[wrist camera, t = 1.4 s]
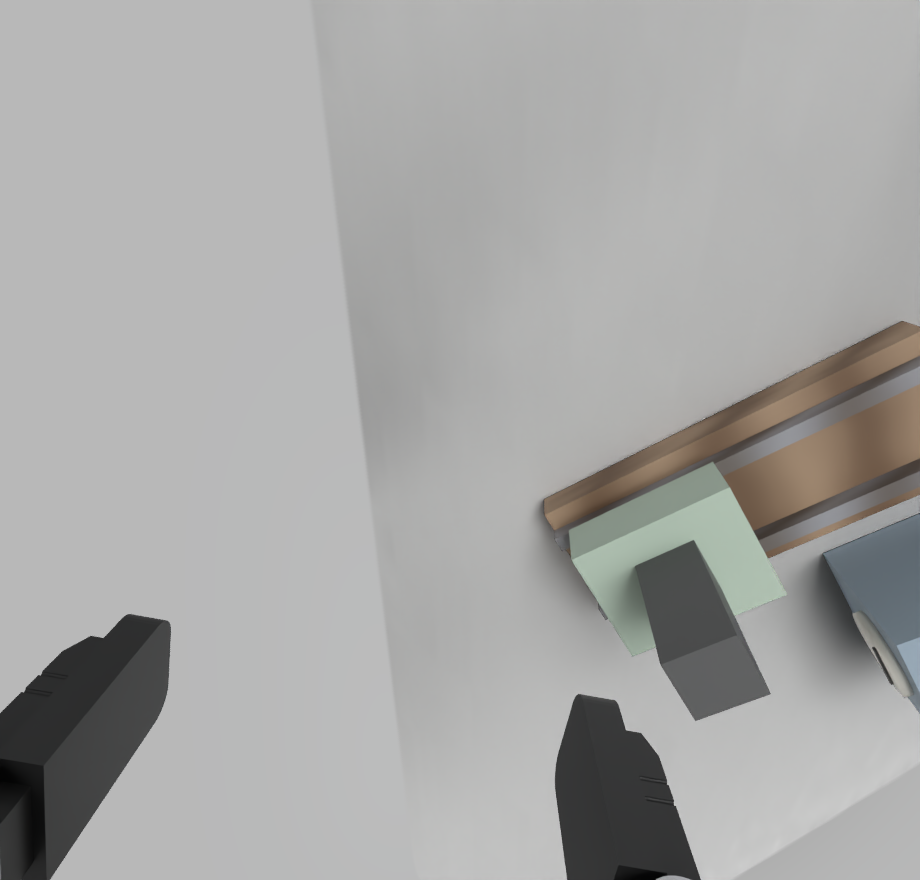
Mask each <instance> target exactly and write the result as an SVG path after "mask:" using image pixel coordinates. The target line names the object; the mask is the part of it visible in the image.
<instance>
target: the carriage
mask: <svg viewBox="0 0 920 880" xmlns="http://www.w3.org/2000/svg"><path fill="white" fill-rule="evenodd" d="M569 538H570V550H571V560H572V562H573V563H574V565H575V567H576V568H577V570H578V571H579V573H580V574H581V576H582V578H583V579H584V581H585V582H586V584H587V585H588V587H589V589H590V590H591V592H592V593H593V595H594V597H595V598H596V600H597V601H598V603H599V604H600V606H601V608H602V609H603V611H604V612H605V614H606V616H607V617H608V619H609V620H610V622H611V623H612V625H613V627H614V628H615V630H616V631H617V633H618V635H619V636H620V638H621V639H622V641H623V642H624V644H625V646H626V647H627V649H628V650H629V652H630V653H631V655H632V657H633V656H635V655H638V654H640V653H643V652H645V651H648V650H650V649H653V648H655V647H656V649H657V653H658V657H659V661H660V664H661V666H662V668H663V669H664V671H665V673H666V674H667V676H668V678H669V679H670V681H671V682H672V684H673V686H674V687H675V689H676V690H677V692H678V694H679V695H680V697H681V698H682V700H683V702H684V703H685V705H686V707H687V708H688V710H689V711H690V713H691V715H692V716H693V718H694V719H695V721H697V720H700V719H702V718H705V717H708V716H711V715H713V714H716V713H719V712H722V711H725V710H727V709H730V708H733V707H736V706H738V705H741V704H744V703H747V702H750V701H752V700H755V699H758V698H761V697H764V696H766V695H769V694H771V693H770V691H769V689H768V687H767V685H766V683H765V681H764V678H763V676H762V674H761V672H760V670H759V668H758V666H757V664H756V661H755V659H754V657H753V655H752V653H751V651H750V649H749V646H748V644H747V642H746V640H745V638H744V636H743V634H742V631H741V629H740V627H739V625H738V623H737V621H736V619H735V615H738V614H740V613H743V612H745V611H748V610H750V609H753V608H755V607H758V606H760V605H763V604H765V603H768V602H770V601H773V600H775V599H778V598H780V597H783V596H785V595H787V593H786V591H785V590H784V588H783V586H782V584H781V582H780V580H779V578H778V576H777V575H776V573H775V571H774V569H773V567H772V565H771V563H770V562H769V560H768V558H767V556H766V554H765V552H764V550H763V548H762V547H761V545H760V543H759V541H758V539H757V537H756V535H755V533H754V532H753V530H752V528H751V526H750V524H749V522H748V520H747V519H746V517H745V515H744V513H743V511H742V509H741V507H740V505H739V504H738V502H737V500H736V498H735V496H734V494H733V492H732V490H731V489H730V487H729V485H728V484H727V482H726V481H725V479H724V478H723V476H722V475H721V473H720V472H719V470H718V469H717V467H716V466H715V464H714V463H713V462H711V463H709V464H707V465H705V466H703V467H701V468H698V469H696V470H694V471H692V472H690V473H688V474H686V475H684V476H682V477H680V478H677V479H675V480H673V481H671V482H669V483H667V484H665V485H663V486H661V487H658V488H656V489H654V490H652V491H650V492H648V493H646V494H644V495H642V496H640V497H637V498H635V499H633V500H631V501H629V502H627V503H625V504H623V505H621V506H619V507H616V508H614V509H612V510H610V511H608V512H606V513H604V514H602V515H600V516H598V517H595V518H593V519H591V520H589V521H587V522H585V523H583V524H581V525H579V526H577V527H574V528H572V529H570V530H569Z"/></svg>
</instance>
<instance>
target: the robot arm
mask: <svg viewBox="0 0 920 880" xmlns="http://www.w3.org/2000/svg"><path fill="white" fill-rule="evenodd" d="M170 637H171V627H170V623H169V622H168V621H166V620H160V619H154V618H149V617H143V616H137V615H132V614H128V615H126V616H124V617H123V618H122V619H121V620H120V621H119V622H118V623H117V625H116V626H115V627H114V628H113V629H112V630H111V631H110V632H109V633H108V634H107V635H106V636H105V637H104V638H100V637H94V636H90V637H88V638H86V639H84V640H83V641H81V642H79V643H77V644H75V645H73V646H71V647H70V648H68V649H66V650H64V651H62V652H61V653H60V654H59V655H58V656H57V657H56V658H55V659H54V660H53V661H52V662H51V663H50V664H49V665H48V666H47V667H46V668H45V669H44V670H43V672H42V674H41V676H40V675H38V676H37V677H36V678H35V679H34V680H33V681H32V682H31V683H30V684H29V685H28V686H27V687H26V690H25V692H24V693H23V692H21V693H20V694H19V695H18V696H17V697H16V698H15V699H14V700H13V701H12V702H11V703H10V704H9V705H8V706H7V707H6V708H5V709H4V710H3V711H2V712H1V713H0V880H50V879H51V877H52V876H53V874H54V873H55V871H56V870H57V868H58V867H59V865H60V864H61V862H62V861H63V859H64V858H65V856H66V855H67V853H68V852H69V850H70V849H71V847H72V846H73V844H74V843H75V841H76V840H77V838H78V837H79V835H80V834H81V832H82V831H83V829H84V828H85V826H86V825H87V823H88V822H89V820H90V819H91V817H92V816H93V814H94V813H95V811H96V810H97V808H98V807H99V805H100V804H101V802H102V801H103V799H104V798H105V796H106V795H107V793H108V792H109V790H110V789H111V787H112V786H113V784H114V783H115V781H116V780H117V778H118V777H119V775H120V774H121V772H122V771H123V769H124V768H125V766H126V765H127V763H128V762H129V760H130V759H131V757H132V756H133V754H134V753H135V751H136V750H137V749H138V747H139V746H140V744H141V743H142V741H143V740H144V738H145V737H146V735H147V734H148V732H149V731H150V729H151V728H152V726H153V725H154V723H155V721H156V720H157V718H158V716H159V714H160V712H161V710H162V707H163V704H164V701H165V698H166V695H167V690H168V678H169V657H170ZM555 790H556V798H557V806H558V813H559V821H560V828H561V836H562V843H563V851H564V858H565V866H566V873H567V880H701V879H700V876H699V873H698V870H697V867H696V864H695V861H694V858H693V856H692V853H691V850H690V847H689V844H688V841H687V838H686V835H685V832H684V829H683V826H682V823H681V820H680V817H679V814H678V811H677V808H676V806H674V800H673V797H672V794H671V791H670V788H669V785H667V779H666V776H665V773H664V770H663V767H662V764H661V761H660V758H659V756H658V755H657V753H656V752H655V751H654V749H653V748H652V747H651V745H650V744H649V743H648V742H647V740H646V739H645V738H644V736H643V735H642V734H641V733H637V732H631V731H626V730H625V726H624V723H623V719H622V716H621V712H620V709H619V706H618V704H617V702H616V701H615V700H609V699H604V698H598V697H592V696H587V695H581V694H578V695H577V696H576V697H575V699H574V702H573V705H572V708H571V712H570V715H569V719H568V722H567V725H566V729H565V732H564V736H563V739H562V743H561V746H560V749H559V753H558V757H557V762H556V771H555Z"/></svg>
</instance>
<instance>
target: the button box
mask: <svg viewBox="0 0 920 880" xmlns="http://www.w3.org/2000/svg"><path fill="white" fill-rule="evenodd" d="M823 555H824V557H825V559H826V561H827V563H828V565H829V567H830V569H831V571H832V573H833V575H834V577H835V579H836V580H837V582H838V584H839V586H840V588H841V590H842V592H843V594H844V596H845V598H846V600H847V602H848V604H849V606H850V608H851V610H852V612H853V613H852V615H853V618H854V620H855V623H856V625H857V627H858V629H859V631H860V633H861V634H862V636H863V638H864V640H865V642H866V643H867V645H868V647H869V648H870V650H871V652H872V653H873V655H874V657H875V658H876V660H877V662H878V663H879V665H880V666H881V668H882V669H883V671H884V673H885V675H886V677H887V679H888V681H889V682H890V684H891V685H892V684H893V685H894V687H895V688H896V689H897V691H898V692H899V693H900V694H901V695H902V696H903V697H904V698H906V697H908V698H909V699H910V701H911V702H912V703H913V705H914V706H915V708H916V709H917V710H918V712H919V713H920V514H917V515H915V516H913V517H910V518H908V519H905V520H903V521H900V522H898V523H896V524H893V525H891V526H888V527H886V528H884V529H881V530H879V531H876V532H874V533H871V534H869V535H867V536H864V537H862V538H859V539H857V540H854V541H852V542H850V543H847V544H845V545H842V546H840V547H837V548H835V549H833V550H830V551H828V552H825V553H823Z"/></svg>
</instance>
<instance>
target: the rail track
mask: <svg viewBox="0 0 920 880" xmlns="http://www.w3.org/2000/svg"><path fill="white" fill-rule="evenodd" d="M711 462H713V463H714V464H715V466H716V467H717V469H718V470H719V472H720V473H721V475H722V476H723V478H724V479H725V481H726V482H727V484H728V485H729V487H730V489H731V490H732V492H733V494H734V496H735V498H736V500H737V502H738V504H739V505H740V507H741V509H742V511H743V513H744V515H745V517H746V519H747V520H748V522H749V524H750V526H751V528H752V530H753V532H754V533H755V535H756V537H757V539H758V541H759V543H760V545H761V547H762V548H763V550H764V552H765V554H766V556H767V558H770V557H773V556H775V555H777V554H780V553H782V552H784V551H787V550H789V549H792V548H794V547H796V546H799V545H801V544H803V543H806V542H808V541H811V540H813V539H815V538H818V537H820V536H822V535H825V534H827V533H830V532H832V531H834V530H837V529H839V528H841V527H844V526H846V525H849V524H851V523H853V522H856V521H858V520H861V519H863V518H865V517H868V516H870V515H872V514H875V513H877V512H880V511H882V510H884V509H887V508H889V507H891V506H894V505H896V504H899V503H901V502H903V501H906V500H908V499H910V498H913V497H915V496H918V495H920V327H919V326H916V325H913V324H910V323H907V322H904V321H902V322H900V323H898V324H896V325H894V326H892V327H889V328H887V329H885V330H883V331H881V332H879V333H877V334H875V335H873V336H871V337H869V338H867V339H865V340H863V341H861V342H859V343H857V344H855V345H853V346H851V347H849V348H847V349H845V350H843V351H841V352H839V353H837V354H835V355H833V356H831V357H829V358H827V359H825V360H823V361H821V362H819V363H817V364H815V365H813V366H811V367H809V368H807V369H805V370H803V371H801V372H799V373H797V374H795V375H793V376H791V377H789V378H787V379H785V380H783V381H781V382H779V383H777V384H775V385H773V386H771V387H769V388H767V389H765V390H763V391H761V392H759V393H757V394H755V395H753V396H751V397H749V398H747V399H745V400H743V401H741V402H739V403H737V404H735V405H733V406H731V407H729V408H727V409H725V410H723V411H721V412H719V413H717V414H715V415H713V416H711V417H709V418H707V419H704V420H702V421H700V422H698V423H696V424H694V425H692V426H690V427H688V428H686V429H684V430H682V431H680V432H678V433H676V434H674V435H672V436H670V437H668V438H666V439H664V440H662V441H660V442H658V443H656V444H654V445H652V446H650V447H648V448H646V449H644V450H642V451H640V452H638V453H636V454H634V455H632V456H630V457H628V458H626V459H624V460H622V461H620V462H618V463H616V464H614V465H612V466H610V467H608V468H606V469H604V470H602V471H600V472H598V473H596V474H594V475H592V476H590V477H588V478H586V479H584V480H582V481H580V482H578V483H576V484H574V485H572V486H570V487H568V488H566V489H564V490H562V491H560V492H558V493H556V494H554V495H552V496H550V497H548V498H546V499H544V515H545V517H546V518H547V520H548V521H549V523H550V525H551V526H552V528H553V529H554V534H555V541H556V542H557V544H558V546H559V547H560V549H561V550H562V551H563V550H567V552H568V553H569V555H570V556H571V550H570V538H569V530H570V529H572V528H574V527H577V526H579V525H581V524H583V523H585V522H587V521H589V520H591V519H593V518H595V517H598V516H600V515H602V514H604V513H606V512H608V511H610V510H612V509H614V508H616V507H619V506H621V505H623V504H625V503H627V502H629V501H631V500H633V499H635V498H637V497H640V496H642V495H644V494H646V493H648V492H650V491H652V490H654V489H656V488H658V487H661V486H663V485H665V484H667V483H669V482H671V481H673V480H675V479H677V478H680V477H682V476H684V475H686V474H688V473H690V472H692V471H694V470H696V469H698V468H701V467H703V466H705V465H707V464H709V463H711ZM598 607H599V610H600V612H601V613H602V615H603V617H604V618H605V620H607V619H608V617H607V616H606V614H605V612H604V611H603V609H602V608H601V606H600V604H599V603H598Z"/></svg>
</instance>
